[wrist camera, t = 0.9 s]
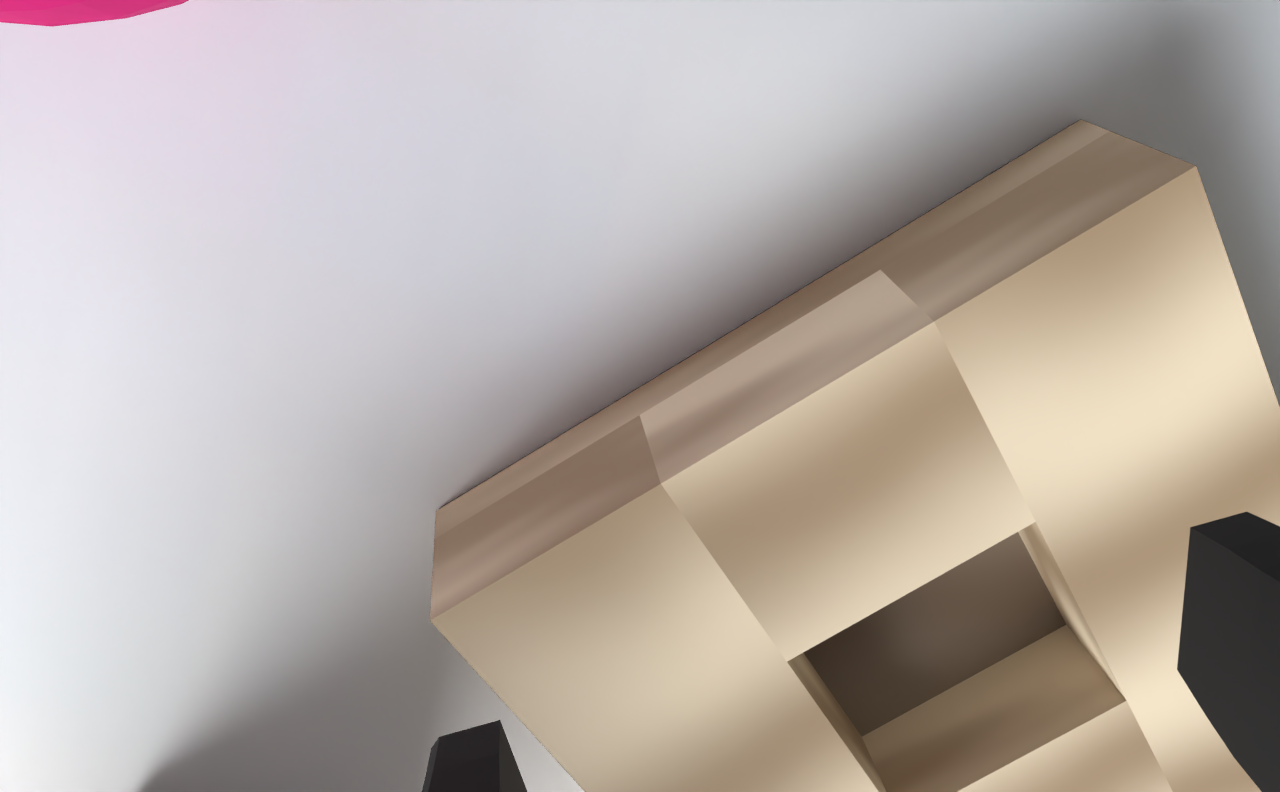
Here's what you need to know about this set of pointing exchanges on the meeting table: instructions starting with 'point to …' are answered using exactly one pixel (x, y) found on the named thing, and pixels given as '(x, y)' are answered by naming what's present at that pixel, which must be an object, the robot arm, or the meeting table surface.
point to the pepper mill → (76, 10)
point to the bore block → (898, 513)
